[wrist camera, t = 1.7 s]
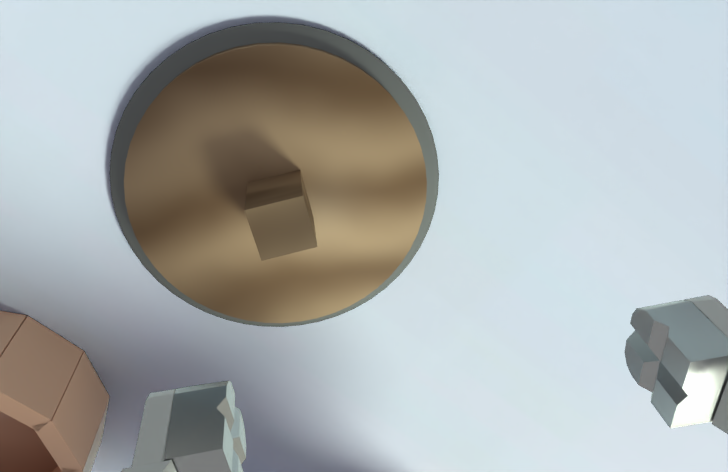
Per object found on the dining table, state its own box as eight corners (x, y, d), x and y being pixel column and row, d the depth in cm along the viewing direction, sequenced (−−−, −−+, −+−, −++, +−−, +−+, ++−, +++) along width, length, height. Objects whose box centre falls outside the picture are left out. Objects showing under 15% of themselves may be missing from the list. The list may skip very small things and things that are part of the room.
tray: (456, 283, 41) (457, 286, 41) (180, 353, 41) (180, 356, 41) (408, -16, 32) (410, -16, 32) (51, 70, 32) (48, 71, 31)
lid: (441, 278, 40) (462, 319, 36) (189, 342, 40) (178, 391, 36) (395, 8, 32) (414, 19, 28) (75, 85, 32) (42, 109, 27)
